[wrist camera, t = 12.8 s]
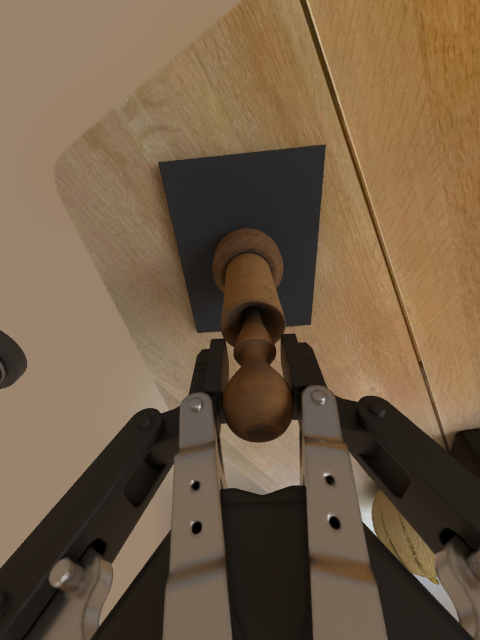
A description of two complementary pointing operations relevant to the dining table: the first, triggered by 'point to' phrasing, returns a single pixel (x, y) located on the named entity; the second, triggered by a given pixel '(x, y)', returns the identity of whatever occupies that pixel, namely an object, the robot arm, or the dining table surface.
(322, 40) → the dining table surface
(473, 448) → the flower pot
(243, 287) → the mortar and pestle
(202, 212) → the mat
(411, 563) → the cantaloupe
